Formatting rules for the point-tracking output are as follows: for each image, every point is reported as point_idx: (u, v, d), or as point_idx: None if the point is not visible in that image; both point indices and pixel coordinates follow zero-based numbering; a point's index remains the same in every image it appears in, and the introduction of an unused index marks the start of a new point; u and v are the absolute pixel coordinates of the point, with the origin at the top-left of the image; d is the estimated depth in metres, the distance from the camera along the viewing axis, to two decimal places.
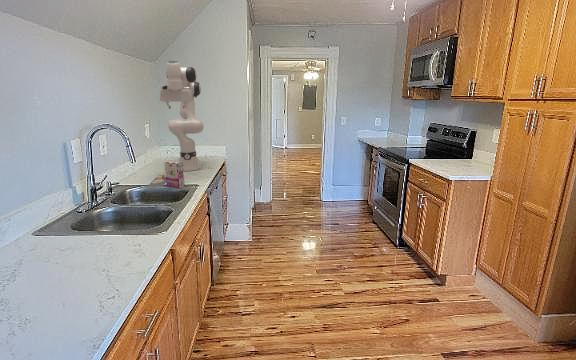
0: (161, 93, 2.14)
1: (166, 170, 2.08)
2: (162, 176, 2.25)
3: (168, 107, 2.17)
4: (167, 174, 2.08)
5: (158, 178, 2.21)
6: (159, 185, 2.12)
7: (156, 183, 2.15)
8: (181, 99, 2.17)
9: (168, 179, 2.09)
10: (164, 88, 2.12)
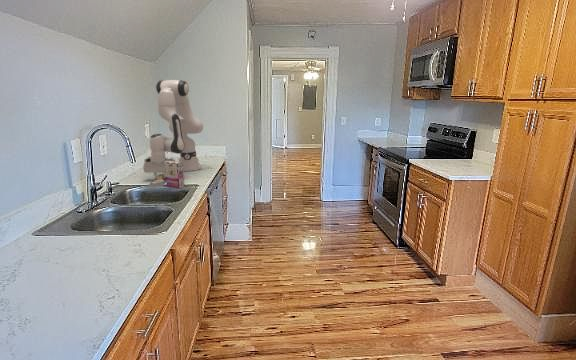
0: (145, 165, 2.20)
1: (166, 170, 2.08)
2: None
3: (156, 177, 2.24)
4: (167, 174, 2.08)
5: (158, 178, 2.21)
6: (159, 185, 2.12)
7: (156, 183, 2.15)
8: (164, 170, 2.23)
9: (168, 179, 2.09)
10: (147, 161, 2.18)
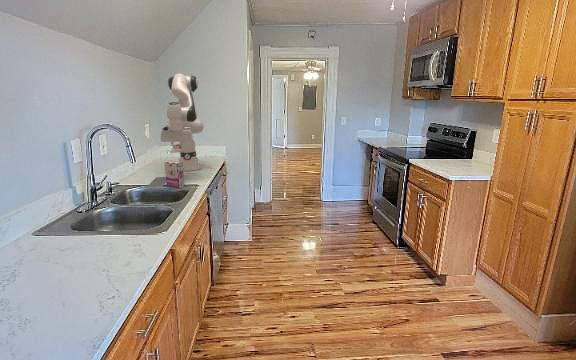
0: (162, 134, 2.16)
1: (166, 170, 2.08)
2: (179, 146, 2.21)
3: (173, 147, 2.20)
4: (167, 174, 2.08)
5: (175, 147, 2.18)
6: (159, 185, 2.12)
7: (174, 151, 2.11)
8: (182, 139, 2.19)
9: (168, 179, 2.09)
10: (165, 129, 2.15)
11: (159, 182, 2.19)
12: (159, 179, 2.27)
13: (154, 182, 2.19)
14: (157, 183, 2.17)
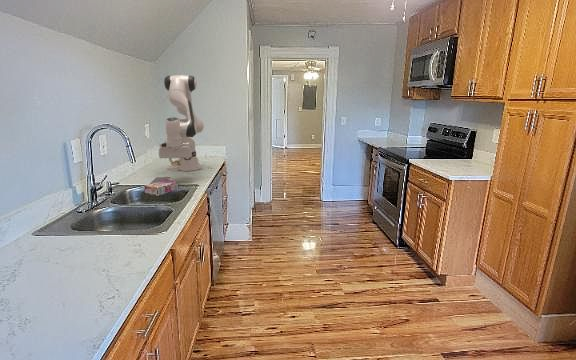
0: (160, 150, 2.10)
1: None
2: None
3: (171, 163, 2.14)
4: None
5: (174, 164, 2.11)
6: None
7: (171, 168, 2.05)
8: (180, 156, 2.13)
9: None
10: (163, 145, 2.08)
11: None
12: (159, 179, 2.27)
13: (154, 182, 2.19)
14: None
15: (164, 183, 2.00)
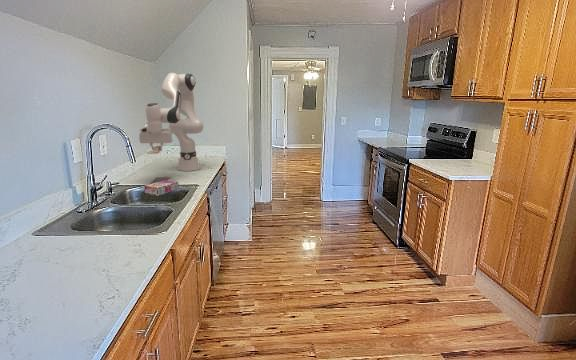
0: (140, 135, 2.13)
1: None
2: (158, 147, 2.18)
3: (152, 148, 2.17)
4: None
5: (154, 149, 2.15)
6: None
7: (151, 152, 2.08)
8: (161, 141, 2.16)
9: None
10: (143, 130, 2.12)
11: None
12: (159, 179, 2.27)
13: (154, 182, 2.19)
14: None
15: (164, 183, 2.00)
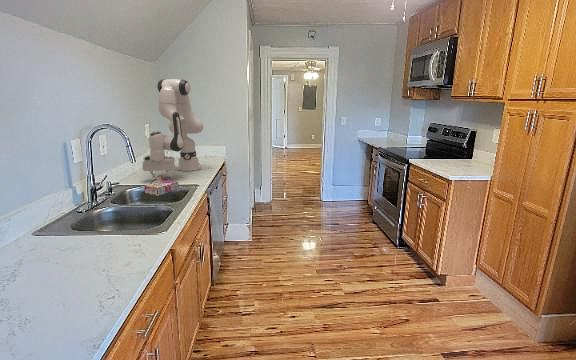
0: (144, 163, 2.18)
1: None
2: (161, 177, 2.23)
3: (152, 176, 2.22)
4: None
5: (157, 179, 2.20)
6: None
7: None
8: (163, 168, 2.21)
9: None
10: (146, 159, 2.16)
11: None
12: None
13: None
14: None
15: (164, 183, 2.00)
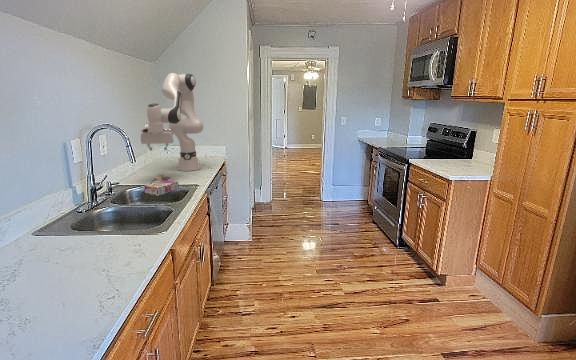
0: (142, 136, 2.14)
1: None
2: (161, 177, 2.23)
3: (149, 149, 2.18)
4: None
5: (157, 179, 2.20)
6: None
7: None
8: (162, 141, 2.17)
9: None
10: (145, 131, 2.12)
11: None
12: None
13: None
14: None
15: (164, 183, 2.00)
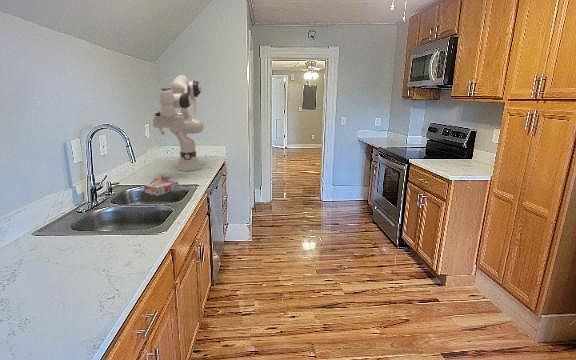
0: (154, 119, 2.18)
1: None
2: (161, 177, 2.23)
3: (161, 133, 2.22)
4: None
5: (157, 179, 2.20)
6: None
7: None
8: (174, 125, 2.21)
9: None
10: (157, 115, 2.16)
11: None
12: None
13: None
14: None
15: (164, 183, 2.00)
